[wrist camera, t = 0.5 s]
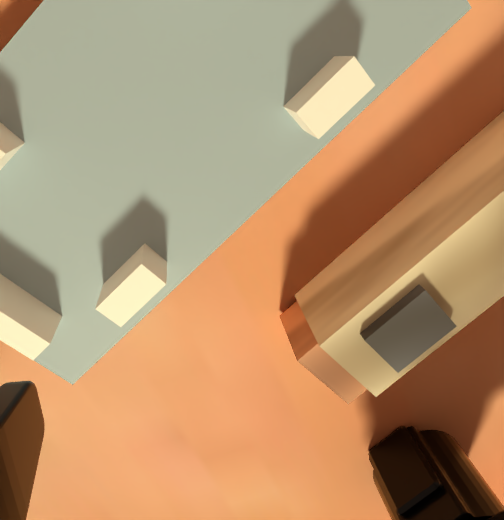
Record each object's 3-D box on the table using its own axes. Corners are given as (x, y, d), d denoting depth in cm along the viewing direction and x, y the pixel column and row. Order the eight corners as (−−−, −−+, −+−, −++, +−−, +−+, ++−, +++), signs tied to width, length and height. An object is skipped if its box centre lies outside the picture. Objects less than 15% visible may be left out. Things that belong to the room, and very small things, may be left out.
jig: (448, 11, 18) (508, 1, 15) (79, 364, 22) (62, 416, 18) (283, -266, 14) (315, -362, 11) (-132, 226, 18) (-199, 263, 15)
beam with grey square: (551, 163, 21) (651, 192, 17) (324, 353, 24) (359, 422, 19) (513, 98, 20) (612, 111, 15) (275, 308, 22) (299, 372, 18)
